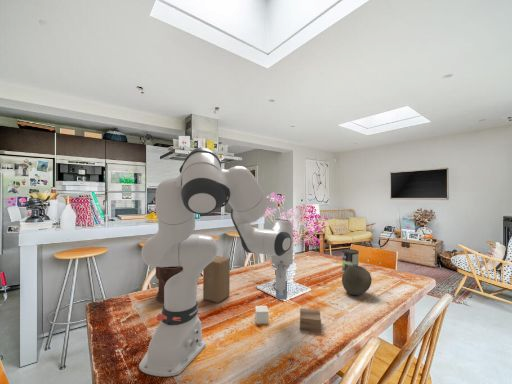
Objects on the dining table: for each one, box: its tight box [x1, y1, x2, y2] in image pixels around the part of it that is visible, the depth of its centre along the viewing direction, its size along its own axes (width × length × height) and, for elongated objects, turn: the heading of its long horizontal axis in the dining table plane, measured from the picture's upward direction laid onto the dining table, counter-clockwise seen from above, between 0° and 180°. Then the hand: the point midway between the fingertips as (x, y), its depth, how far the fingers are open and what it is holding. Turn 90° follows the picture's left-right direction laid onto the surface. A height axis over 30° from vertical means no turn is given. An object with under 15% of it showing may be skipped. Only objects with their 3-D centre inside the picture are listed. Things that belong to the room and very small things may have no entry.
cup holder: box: [155, 266, 183, 305], centre depth 122 cm, size 18×24×25 cm
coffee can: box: [341, 248, 360, 273], centre depth 163 cm, size 10×10×14 cm
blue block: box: [275, 280, 288, 301], centre depth 99 cm, size 4×4×6 cm
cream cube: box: [254, 305, 269, 325], centre depth 102 cm, size 5×5×5 cm
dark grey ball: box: [341, 264, 372, 296], centre depth 128 cm, size 14×14×15 cm
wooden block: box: [202, 255, 231, 304], centre depth 122 cm, size 10×10×20 cm
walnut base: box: [299, 307, 322, 333], centre depth 98 cm, size 8×8×5 cm
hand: (281, 291), depth 99 cm, fingers closed on blue block, 4 cm apart
